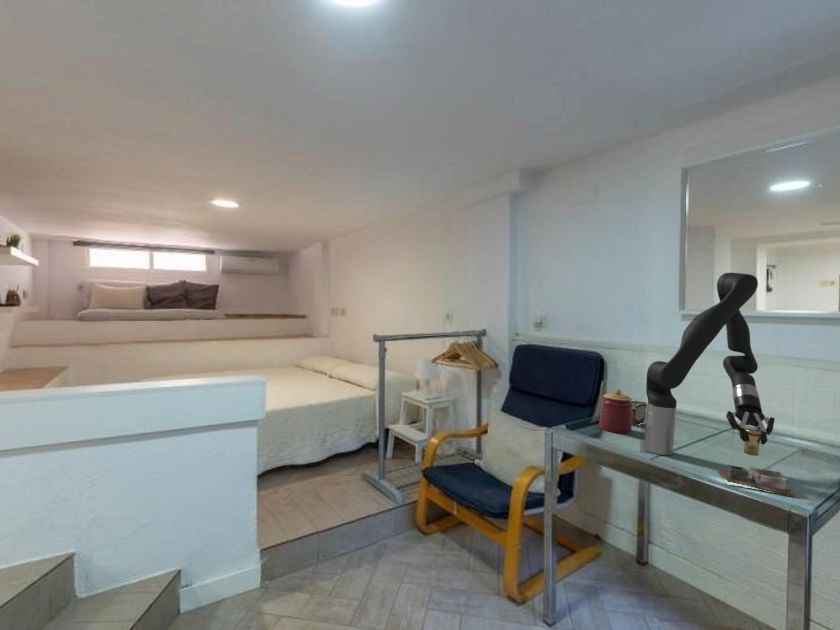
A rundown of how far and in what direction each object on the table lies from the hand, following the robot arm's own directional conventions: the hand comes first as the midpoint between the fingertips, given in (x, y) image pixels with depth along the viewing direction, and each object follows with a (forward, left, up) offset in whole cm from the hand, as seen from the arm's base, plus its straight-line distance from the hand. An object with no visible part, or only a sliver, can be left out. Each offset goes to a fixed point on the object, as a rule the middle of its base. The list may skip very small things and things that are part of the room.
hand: (754, 441), depth 145 cm
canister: (-41, +29, -10) cm, 51 cm away
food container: (-33, +46, -10) cm, 58 cm away
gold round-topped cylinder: (0, +2, -5) cm, 5 cm away
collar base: (-3, -14, -10) cm, 18 cm away
